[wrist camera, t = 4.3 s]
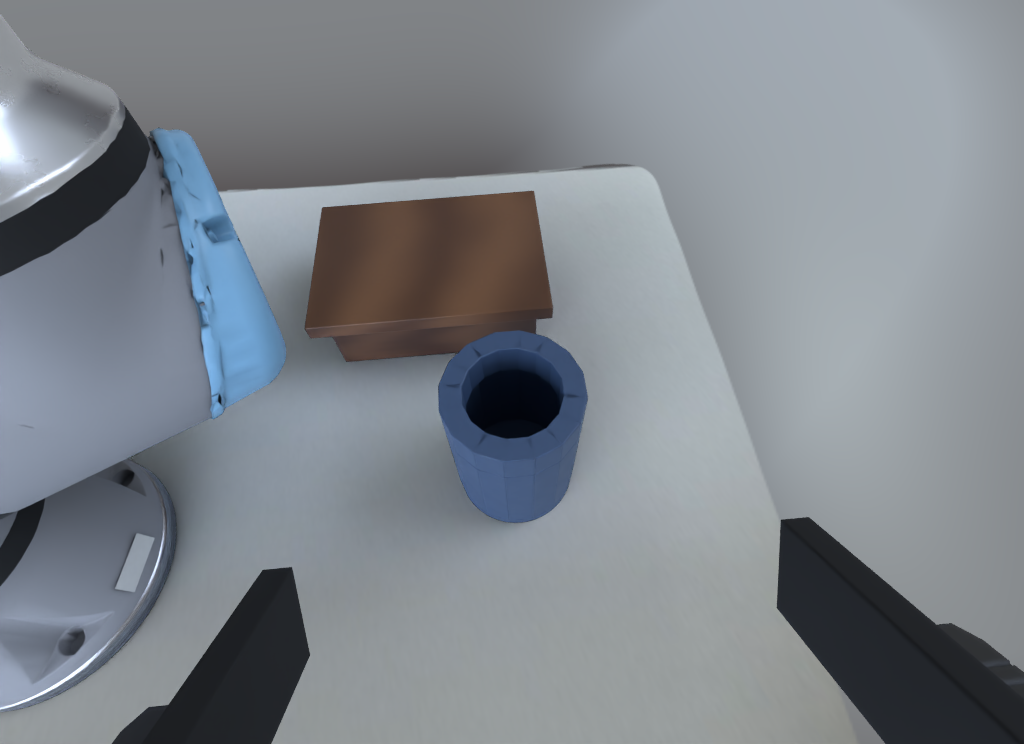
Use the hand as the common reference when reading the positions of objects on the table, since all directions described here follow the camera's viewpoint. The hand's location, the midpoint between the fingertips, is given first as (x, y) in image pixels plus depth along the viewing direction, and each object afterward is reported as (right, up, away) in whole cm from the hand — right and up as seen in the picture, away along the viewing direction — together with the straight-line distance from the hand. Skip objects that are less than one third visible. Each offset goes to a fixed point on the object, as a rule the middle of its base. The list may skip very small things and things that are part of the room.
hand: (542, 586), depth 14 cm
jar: (-1, -1, +22) cm, 22 cm away
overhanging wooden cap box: (-7, +11, +30) cm, 33 cm away
